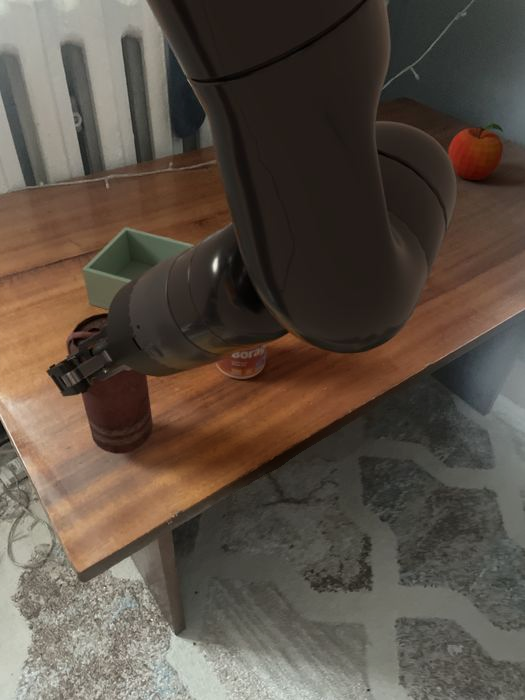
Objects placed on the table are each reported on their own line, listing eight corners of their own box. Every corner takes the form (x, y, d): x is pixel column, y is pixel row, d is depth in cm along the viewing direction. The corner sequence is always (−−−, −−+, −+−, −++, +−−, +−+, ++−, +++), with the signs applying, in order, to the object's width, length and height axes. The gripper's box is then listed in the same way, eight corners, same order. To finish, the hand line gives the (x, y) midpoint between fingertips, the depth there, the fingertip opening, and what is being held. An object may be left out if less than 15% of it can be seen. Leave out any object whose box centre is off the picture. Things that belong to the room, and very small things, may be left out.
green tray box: (161, 326, 72) (158, 291, 68) (89, 304, 74) (81, 269, 70) (196, 279, 79) (195, 245, 75) (129, 261, 81) (124, 226, 77)
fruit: (442, 159, 111) (458, 108, 104) (491, 168, 110) (510, 117, 103) (441, 181, 104) (457, 129, 97) (493, 191, 103) (514, 138, 96)
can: (85, 417, 59) (59, 317, 49) (146, 403, 60) (132, 304, 51) (94, 464, 55) (68, 365, 45) (158, 447, 57) (147, 348, 47)
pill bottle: (230, 388, 65) (232, 317, 57) (206, 355, 69) (204, 283, 61) (275, 369, 68) (282, 299, 60) (249, 338, 71) (253, 268, 64)
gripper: (226, 224, 41) (135, 283, 55) (62, 317, 33) (1, 359, 46) (276, 311, 43) (175, 348, 56) (131, 421, 34) (53, 433, 48)
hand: (97, 353), depth 51 cm, fingers closed on can, 6 cm apart
